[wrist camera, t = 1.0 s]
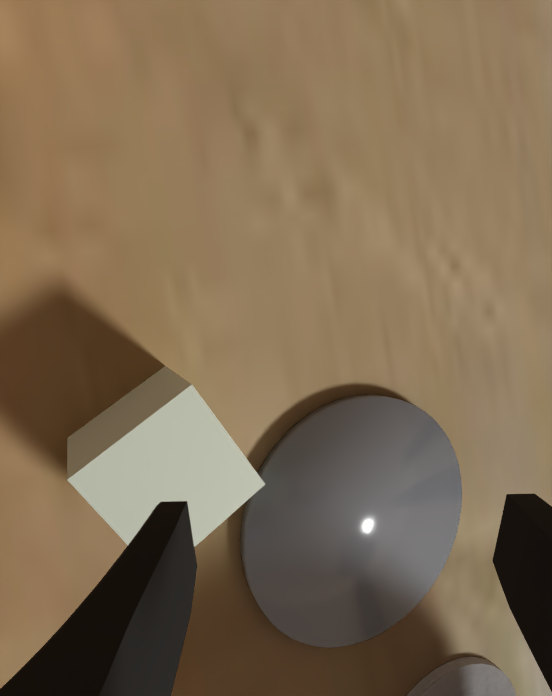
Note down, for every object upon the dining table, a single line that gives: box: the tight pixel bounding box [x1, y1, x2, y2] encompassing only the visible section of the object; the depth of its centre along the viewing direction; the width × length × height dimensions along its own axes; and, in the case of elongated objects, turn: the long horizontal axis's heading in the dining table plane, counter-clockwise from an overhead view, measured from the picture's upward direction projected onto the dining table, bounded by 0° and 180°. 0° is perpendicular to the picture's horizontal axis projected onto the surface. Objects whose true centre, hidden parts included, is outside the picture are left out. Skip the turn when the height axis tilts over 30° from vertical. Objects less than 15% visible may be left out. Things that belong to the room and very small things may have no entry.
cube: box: [67, 366, 265, 547], centre depth 19 cm, size 5×5×5 cm
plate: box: [240, 394, 462, 648], centre depth 26 cm, size 14×14×1 cm
